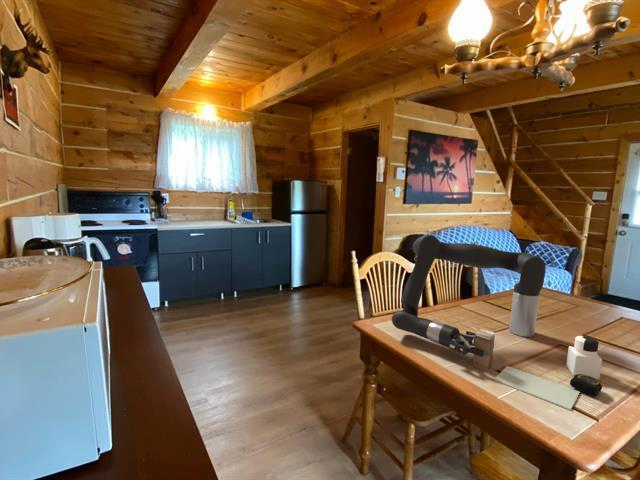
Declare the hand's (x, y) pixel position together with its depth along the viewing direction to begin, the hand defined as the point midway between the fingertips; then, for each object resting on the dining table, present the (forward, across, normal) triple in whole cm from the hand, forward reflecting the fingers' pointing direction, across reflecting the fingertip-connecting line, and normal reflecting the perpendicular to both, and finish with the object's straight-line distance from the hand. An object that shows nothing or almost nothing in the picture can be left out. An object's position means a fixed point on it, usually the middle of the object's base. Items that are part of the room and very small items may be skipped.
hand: (488, 349), depth 115 cm
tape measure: (+26, +8, +7) cm, 28 cm away
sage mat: (+14, 0, +6) cm, 16 cm away
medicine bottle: (+22, +21, +7) cm, 31 cm away
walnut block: (-2, 0, +6) cm, 7 cm away
